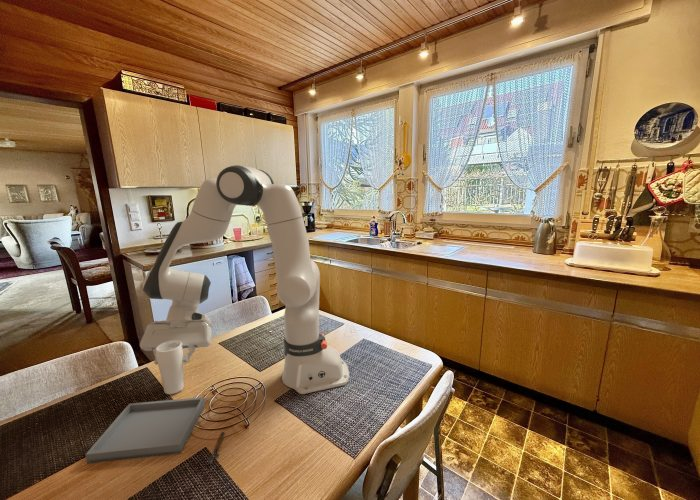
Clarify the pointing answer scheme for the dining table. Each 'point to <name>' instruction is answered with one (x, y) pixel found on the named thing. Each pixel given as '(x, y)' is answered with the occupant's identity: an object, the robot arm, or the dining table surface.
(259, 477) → the dining table surface
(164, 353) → the drinking glass
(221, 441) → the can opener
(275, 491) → the dining table surface
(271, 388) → the dining table surface
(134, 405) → the tray
